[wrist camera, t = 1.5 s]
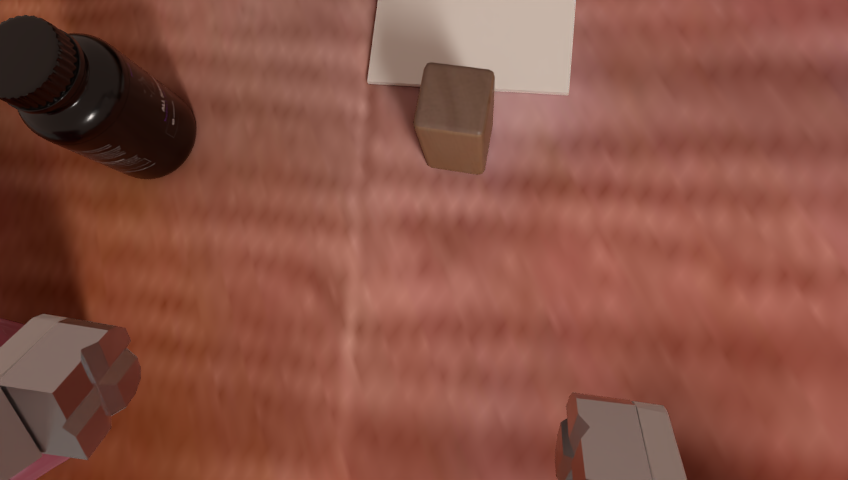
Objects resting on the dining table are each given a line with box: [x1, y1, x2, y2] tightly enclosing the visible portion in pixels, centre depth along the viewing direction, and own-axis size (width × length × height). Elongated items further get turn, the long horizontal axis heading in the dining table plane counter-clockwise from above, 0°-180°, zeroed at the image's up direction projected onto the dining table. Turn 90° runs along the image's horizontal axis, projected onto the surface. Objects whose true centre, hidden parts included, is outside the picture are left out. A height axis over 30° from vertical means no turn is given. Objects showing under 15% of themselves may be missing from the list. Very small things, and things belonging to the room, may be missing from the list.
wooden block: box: [413, 62, 495, 174], centre depth 33 cm, size 4×4×8 cm
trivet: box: [367, 0, 576, 95], centre depth 38 cm, size 12×14×1 cm
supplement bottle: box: [0, 15, 196, 179], centre depth 34 cm, size 7×7×12 cm
